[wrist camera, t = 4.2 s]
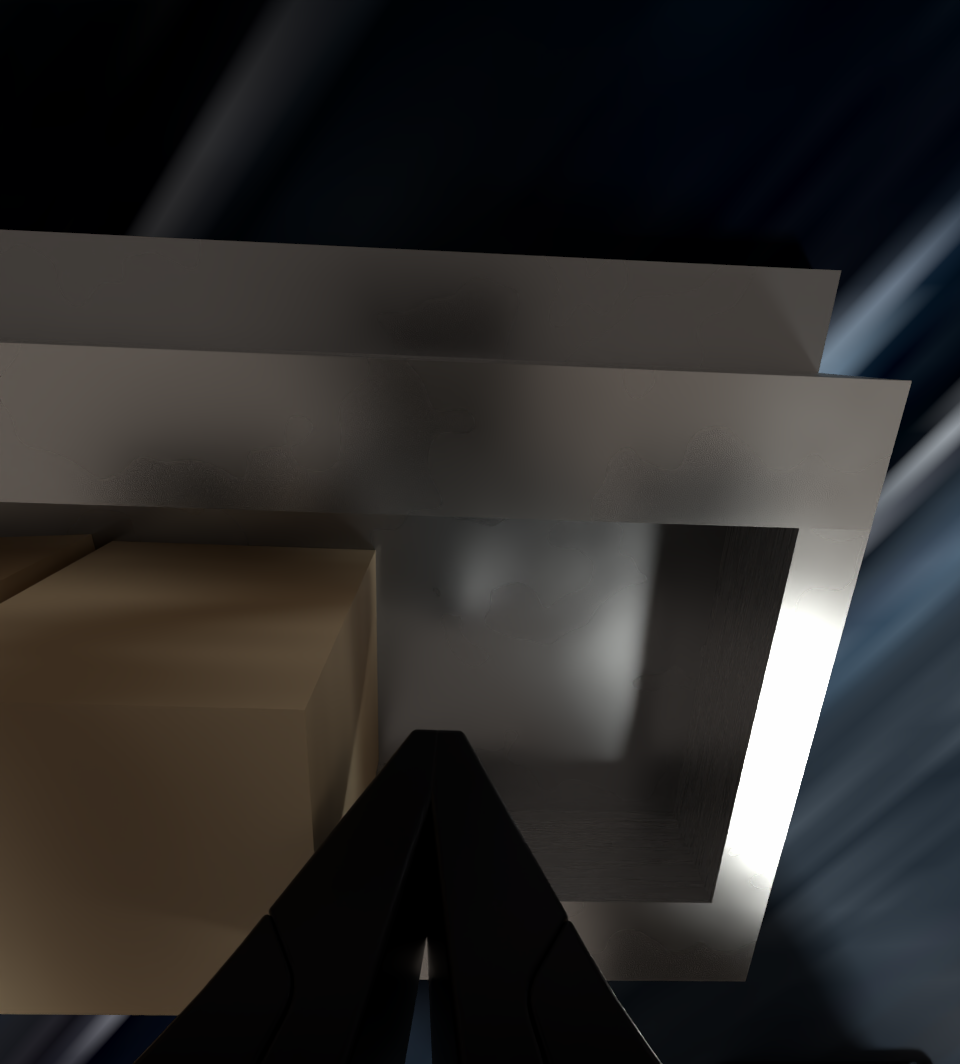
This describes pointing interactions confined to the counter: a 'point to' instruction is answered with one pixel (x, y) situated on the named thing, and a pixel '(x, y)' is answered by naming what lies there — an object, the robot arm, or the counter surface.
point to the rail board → (457, 581)
